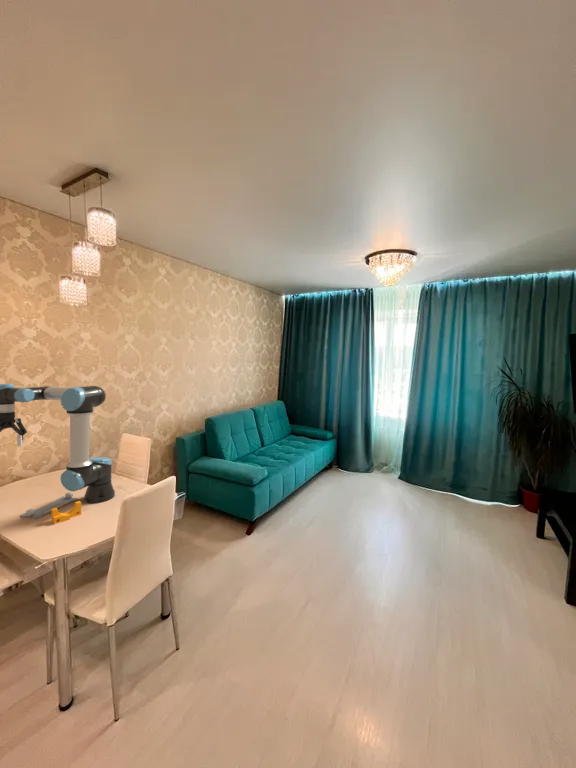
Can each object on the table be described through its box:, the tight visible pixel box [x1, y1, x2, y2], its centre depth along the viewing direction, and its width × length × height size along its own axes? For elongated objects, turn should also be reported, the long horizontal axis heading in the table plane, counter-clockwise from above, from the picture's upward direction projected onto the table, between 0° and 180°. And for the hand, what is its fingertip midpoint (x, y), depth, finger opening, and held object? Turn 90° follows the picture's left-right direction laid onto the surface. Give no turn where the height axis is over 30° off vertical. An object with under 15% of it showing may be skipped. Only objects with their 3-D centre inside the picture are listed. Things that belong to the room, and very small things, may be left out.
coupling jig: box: [19, 491, 79, 520], centre depth 170 cm, size 10×24×4 cm, turn 168°
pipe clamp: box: [50, 500, 82, 525], centre depth 159 cm, size 12×4×6 cm, turn 141°
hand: (7, 449), depth 179 cm, fingers open, 13 cm apart
